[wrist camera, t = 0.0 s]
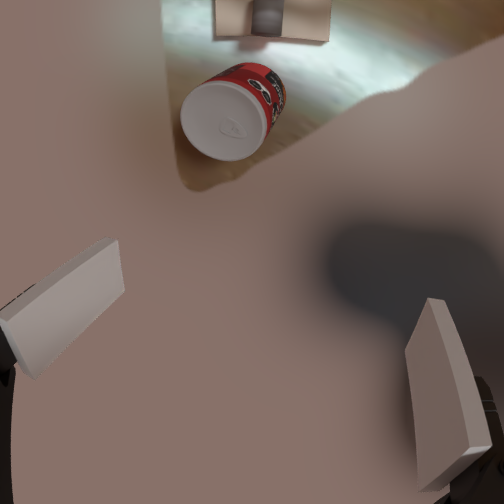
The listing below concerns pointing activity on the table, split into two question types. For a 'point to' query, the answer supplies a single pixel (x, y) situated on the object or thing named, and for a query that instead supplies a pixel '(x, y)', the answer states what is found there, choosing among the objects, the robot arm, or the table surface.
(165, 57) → the table surface
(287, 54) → the table surface
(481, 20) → the table surface
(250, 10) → the plate
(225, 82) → the canned food
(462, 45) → the table surface
